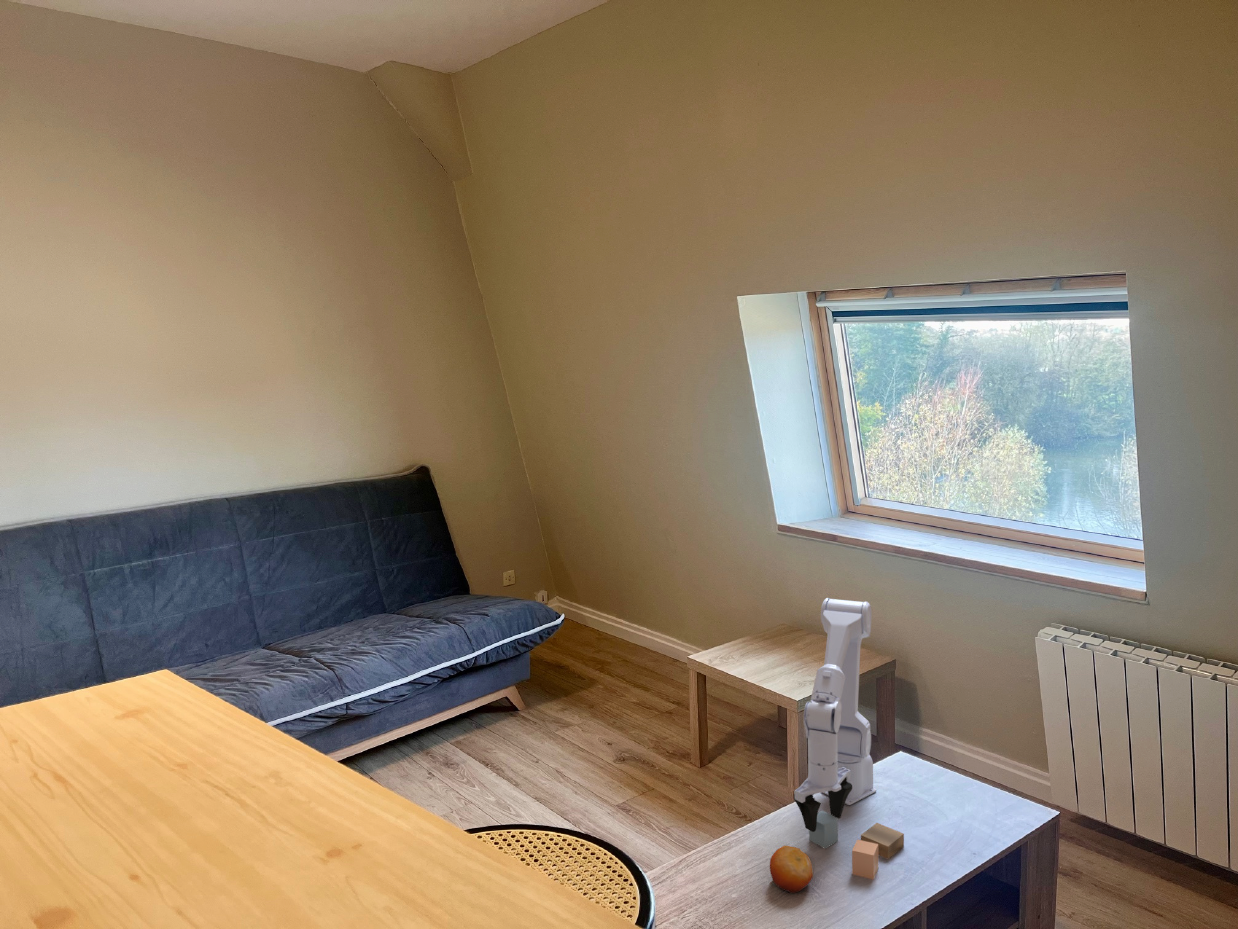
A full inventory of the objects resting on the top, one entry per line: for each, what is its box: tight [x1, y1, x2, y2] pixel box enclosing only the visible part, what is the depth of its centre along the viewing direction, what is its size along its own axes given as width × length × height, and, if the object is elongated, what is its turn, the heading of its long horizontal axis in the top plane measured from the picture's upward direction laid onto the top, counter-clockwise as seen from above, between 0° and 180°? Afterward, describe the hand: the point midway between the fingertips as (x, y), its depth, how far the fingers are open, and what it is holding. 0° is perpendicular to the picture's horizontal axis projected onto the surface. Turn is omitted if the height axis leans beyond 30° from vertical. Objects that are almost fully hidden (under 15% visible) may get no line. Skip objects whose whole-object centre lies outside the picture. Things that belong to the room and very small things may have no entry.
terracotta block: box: [851, 839, 879, 881], centre depth 174 cm, size 4×4×5 cm
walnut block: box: [860, 822, 905, 860], centre depth 182 cm, size 6×6×3 cm
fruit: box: [769, 845, 814, 894], centre depth 171 cm, size 8×8×8 cm
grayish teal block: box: [808, 810, 839, 849], centre depth 185 cm, size 4×4×5 cm
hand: (823, 822), depth 184 cm, fingers open, 7 cm apart
